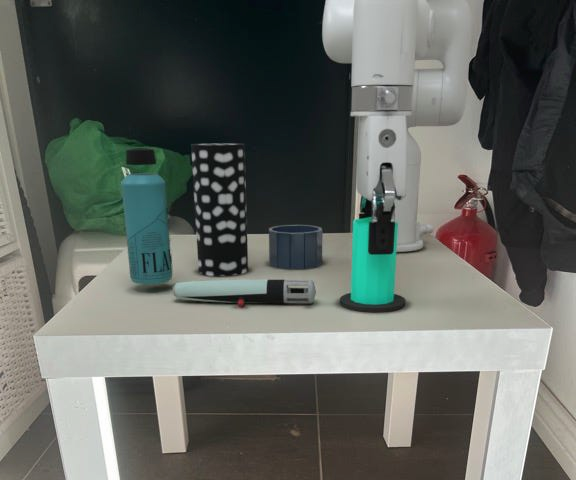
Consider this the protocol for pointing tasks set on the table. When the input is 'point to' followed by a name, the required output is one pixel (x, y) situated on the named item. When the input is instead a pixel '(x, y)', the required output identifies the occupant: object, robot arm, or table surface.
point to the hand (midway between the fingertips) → (374, 247)
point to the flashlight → (246, 291)
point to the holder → (295, 246)
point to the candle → (371, 268)
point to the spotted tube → (220, 208)
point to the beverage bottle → (146, 221)
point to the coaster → (350, 304)
